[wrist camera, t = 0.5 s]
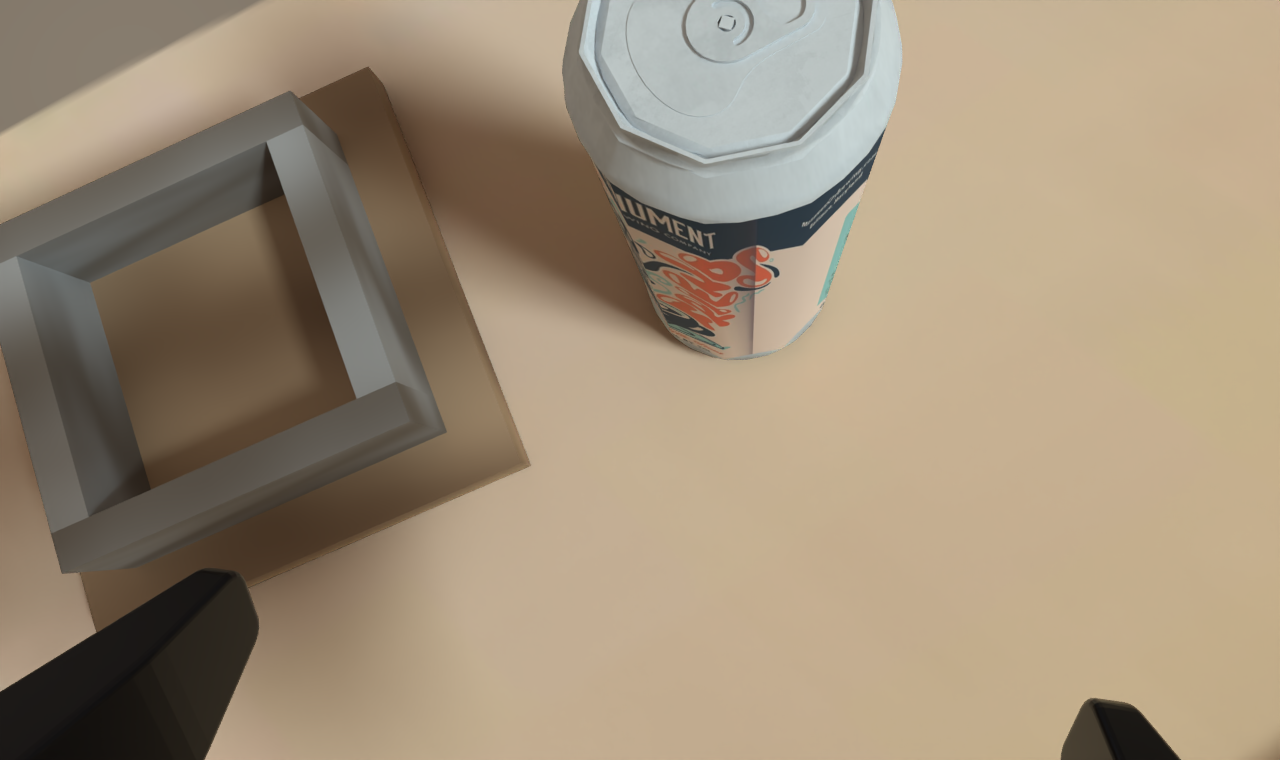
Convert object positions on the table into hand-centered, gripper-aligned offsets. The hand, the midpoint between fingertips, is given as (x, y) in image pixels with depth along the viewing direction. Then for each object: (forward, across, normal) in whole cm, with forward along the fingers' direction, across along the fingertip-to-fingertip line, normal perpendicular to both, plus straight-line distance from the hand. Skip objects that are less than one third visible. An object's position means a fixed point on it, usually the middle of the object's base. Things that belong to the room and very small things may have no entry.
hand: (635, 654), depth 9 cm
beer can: (+15, 0, +3) cm, 15 cm away
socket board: (+12, +13, +6) cm, 19 cm away
